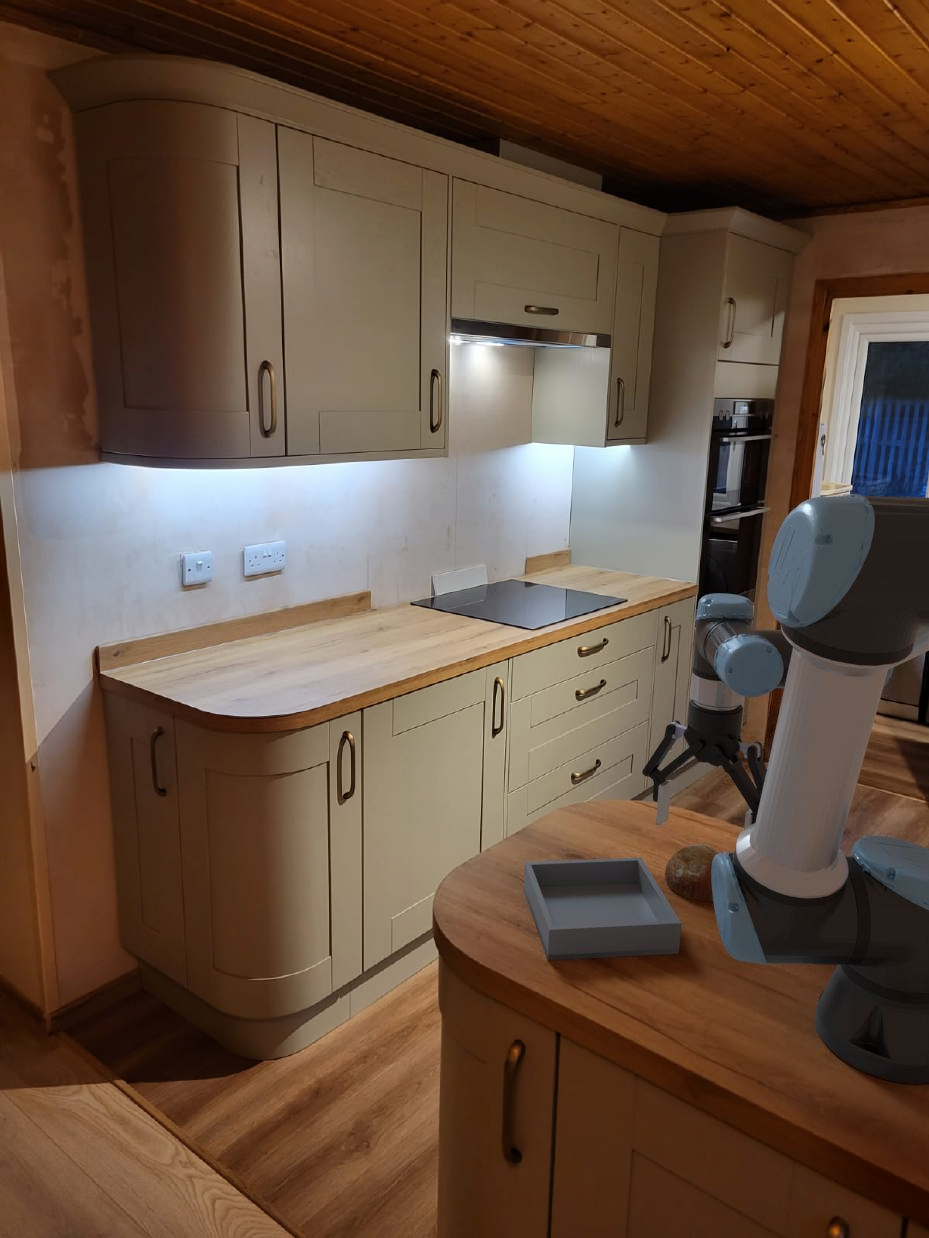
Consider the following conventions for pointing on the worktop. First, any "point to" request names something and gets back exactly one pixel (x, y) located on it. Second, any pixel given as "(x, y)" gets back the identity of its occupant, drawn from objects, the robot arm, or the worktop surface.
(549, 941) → the bread tray
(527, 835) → the worktop surface
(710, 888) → the bread roll
